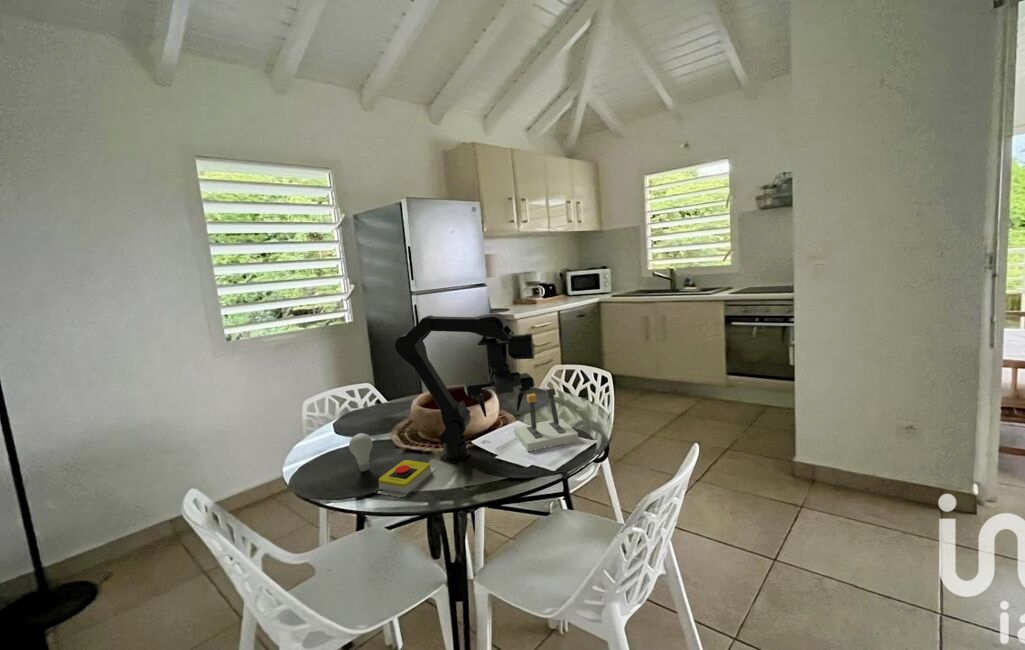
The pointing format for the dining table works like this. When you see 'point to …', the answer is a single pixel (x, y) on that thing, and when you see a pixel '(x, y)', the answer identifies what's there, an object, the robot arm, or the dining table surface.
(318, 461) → the dining table surface
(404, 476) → the emergency button
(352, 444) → the lightbulb
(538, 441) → the breaker panel
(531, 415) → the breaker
